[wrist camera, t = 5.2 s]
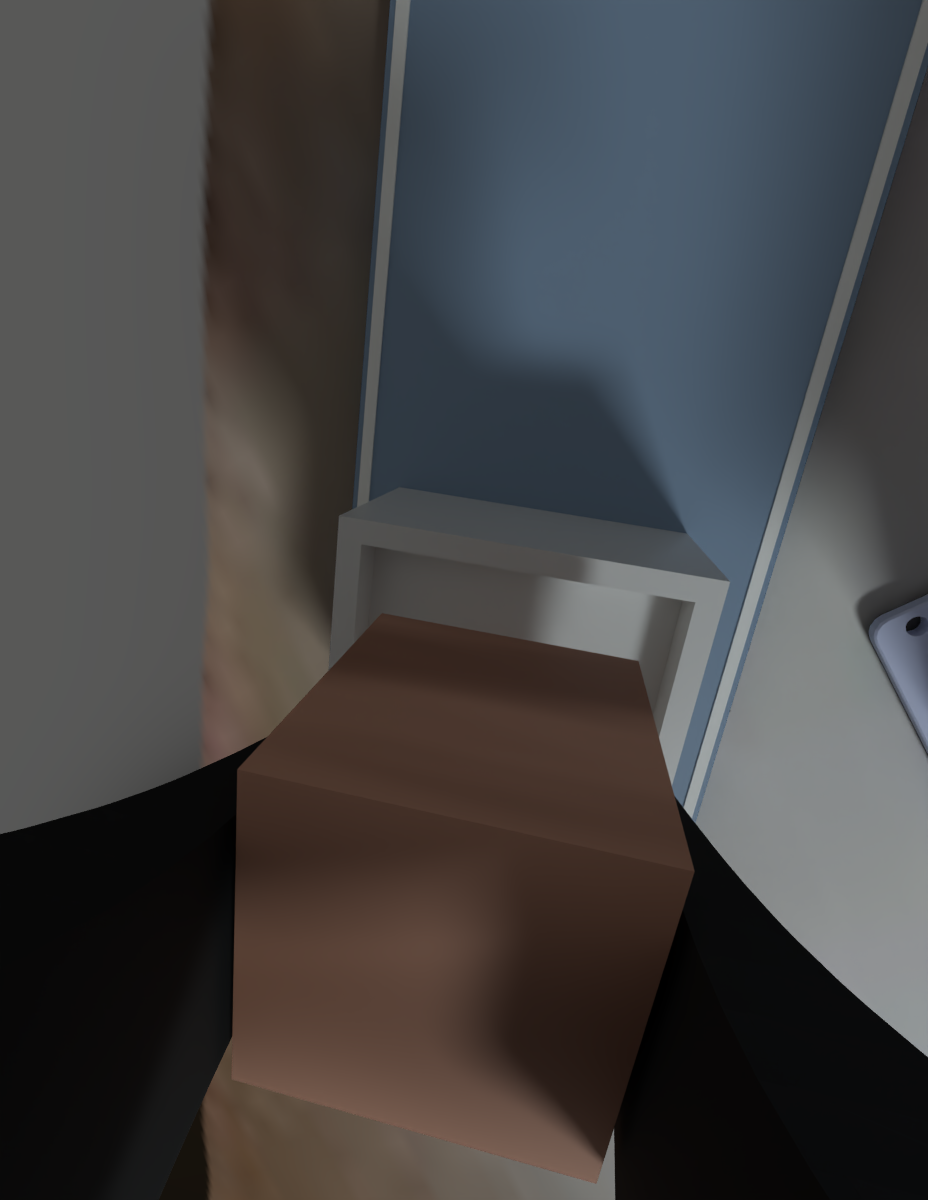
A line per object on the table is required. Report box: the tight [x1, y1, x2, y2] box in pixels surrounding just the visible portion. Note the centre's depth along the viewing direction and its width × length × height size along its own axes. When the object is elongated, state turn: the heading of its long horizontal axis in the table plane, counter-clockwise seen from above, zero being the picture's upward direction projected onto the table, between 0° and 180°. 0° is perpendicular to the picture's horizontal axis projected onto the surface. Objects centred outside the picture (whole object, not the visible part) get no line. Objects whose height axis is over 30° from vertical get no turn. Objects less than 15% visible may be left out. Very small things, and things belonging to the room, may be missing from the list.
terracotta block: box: [232, 613, 695, 1183], centre depth 9 cm, size 4×4×5 cm
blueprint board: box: [352, 0, 928, 822], centre depth 16 cm, size 22×11×1 cm, turn 172°
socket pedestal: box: [329, 487, 730, 785], centre depth 15 cm, size 8×8×4 cm
